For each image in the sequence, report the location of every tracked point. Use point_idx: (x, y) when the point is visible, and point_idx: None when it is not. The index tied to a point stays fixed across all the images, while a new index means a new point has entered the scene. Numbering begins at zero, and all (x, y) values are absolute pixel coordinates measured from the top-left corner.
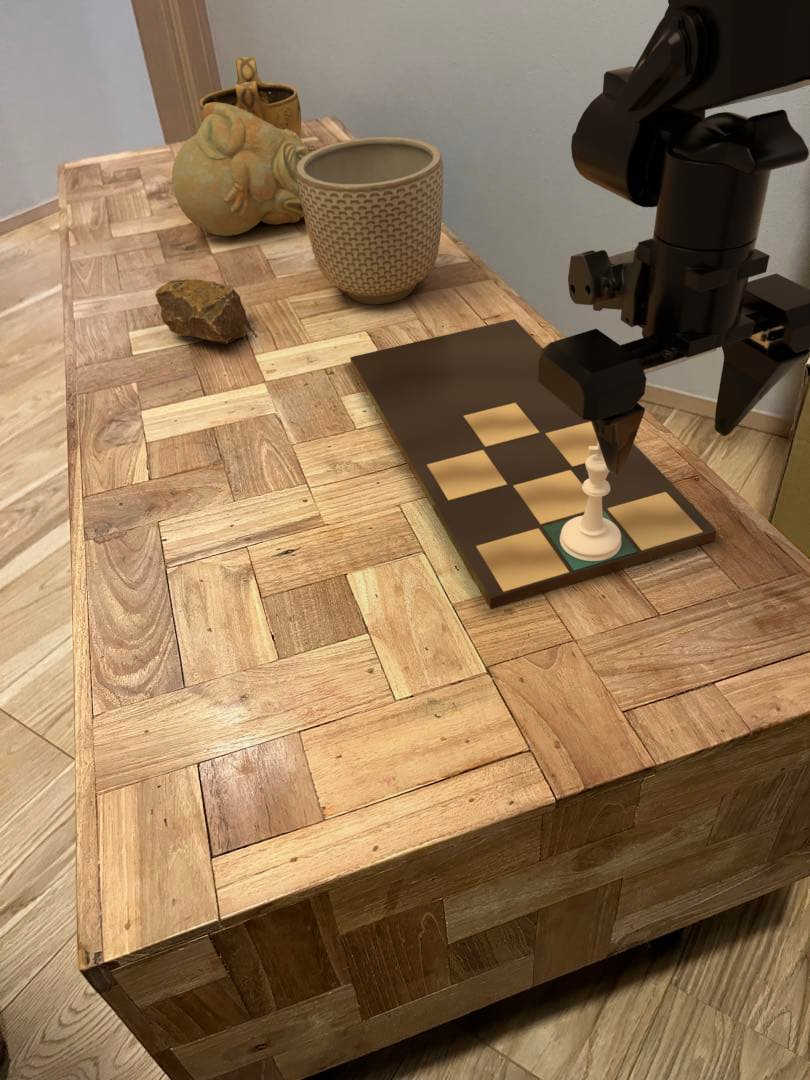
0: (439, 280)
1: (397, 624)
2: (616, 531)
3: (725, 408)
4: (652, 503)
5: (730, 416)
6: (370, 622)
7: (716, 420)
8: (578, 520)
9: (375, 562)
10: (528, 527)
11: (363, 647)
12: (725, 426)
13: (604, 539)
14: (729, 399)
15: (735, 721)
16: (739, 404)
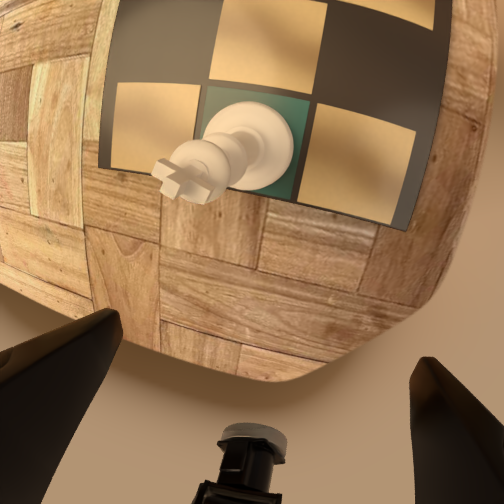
0: None
1: (43, 142)
2: (278, 166)
3: (433, 422)
4: (382, 137)
5: (418, 428)
6: (30, 130)
7: (426, 376)
8: (241, 117)
9: (53, 55)
10: (191, 76)
11: (22, 155)
12: (415, 397)
13: (248, 174)
14: (438, 450)
15: (231, 368)
16: (422, 470)
